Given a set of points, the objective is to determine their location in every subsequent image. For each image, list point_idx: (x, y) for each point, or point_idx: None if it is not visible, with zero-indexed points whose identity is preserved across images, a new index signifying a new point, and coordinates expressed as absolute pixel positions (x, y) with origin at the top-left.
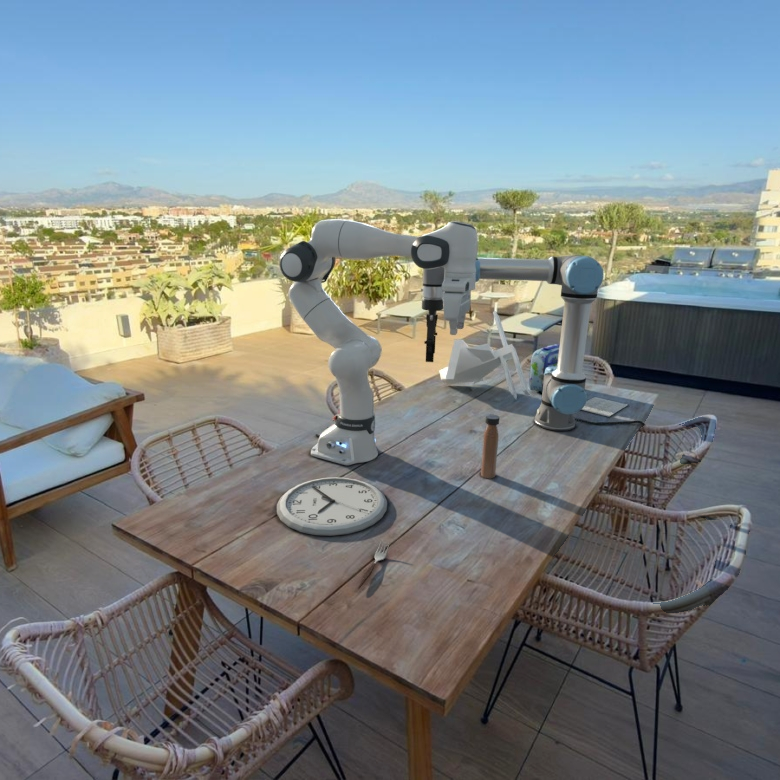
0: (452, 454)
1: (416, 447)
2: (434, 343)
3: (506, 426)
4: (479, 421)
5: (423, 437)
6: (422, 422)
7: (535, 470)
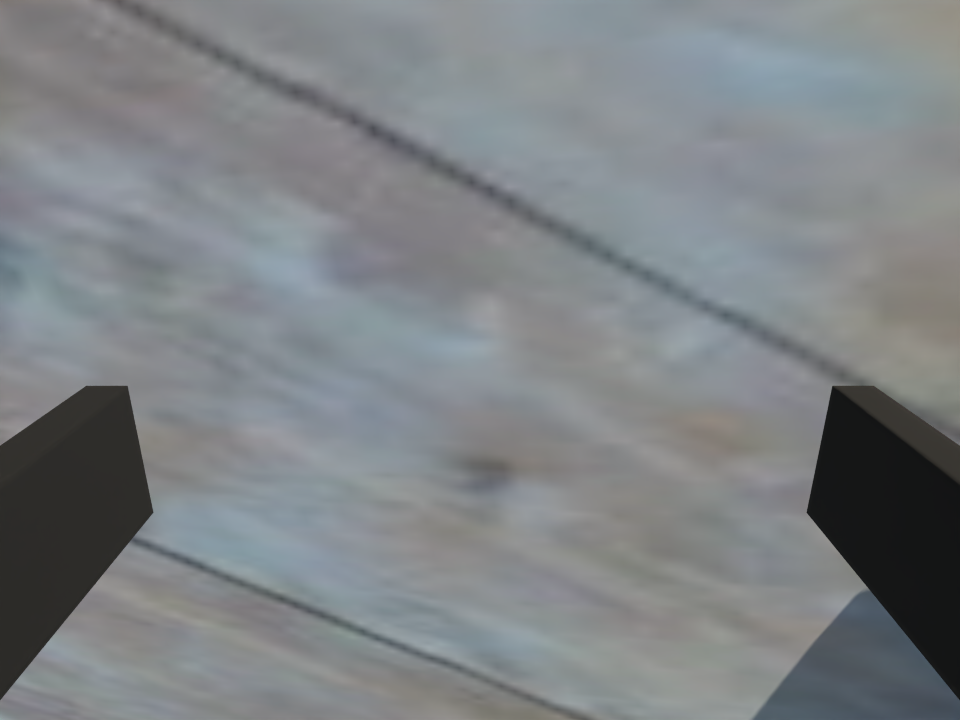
0: (141, 372)
1: (170, 170)
2: (934, 645)
3: (585, 628)
4: (649, 512)
5: (337, 204)
6: (600, 181)
7: (96, 685)
